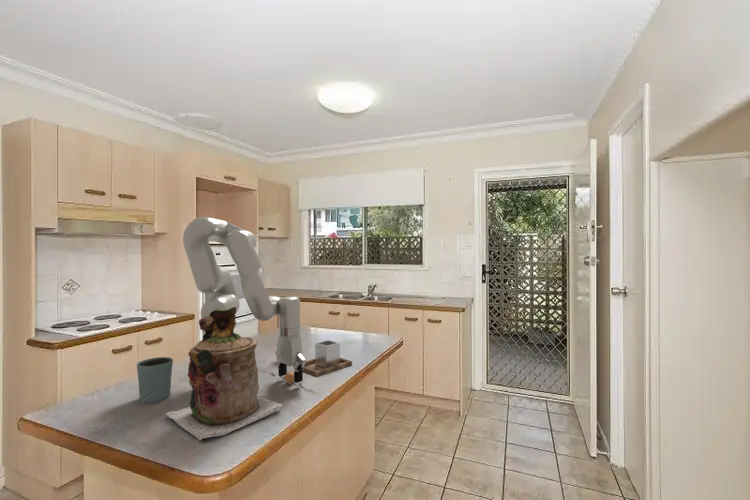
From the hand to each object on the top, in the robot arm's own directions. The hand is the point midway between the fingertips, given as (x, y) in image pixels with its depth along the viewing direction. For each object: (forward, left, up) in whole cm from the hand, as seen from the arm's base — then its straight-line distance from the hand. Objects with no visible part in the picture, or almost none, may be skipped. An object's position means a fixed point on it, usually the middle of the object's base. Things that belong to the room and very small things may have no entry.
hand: (290, 378), depth 133 cm
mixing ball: (0, 0, -2) cm, 2 cm away
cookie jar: (-27, -7, -2) cm, 28 cm away
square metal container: (+20, +3, -1) cm, 20 cm away
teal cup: (-37, +22, -2) cm, 43 cm away
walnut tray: (+18, +3, -2) cm, 18 cm away
